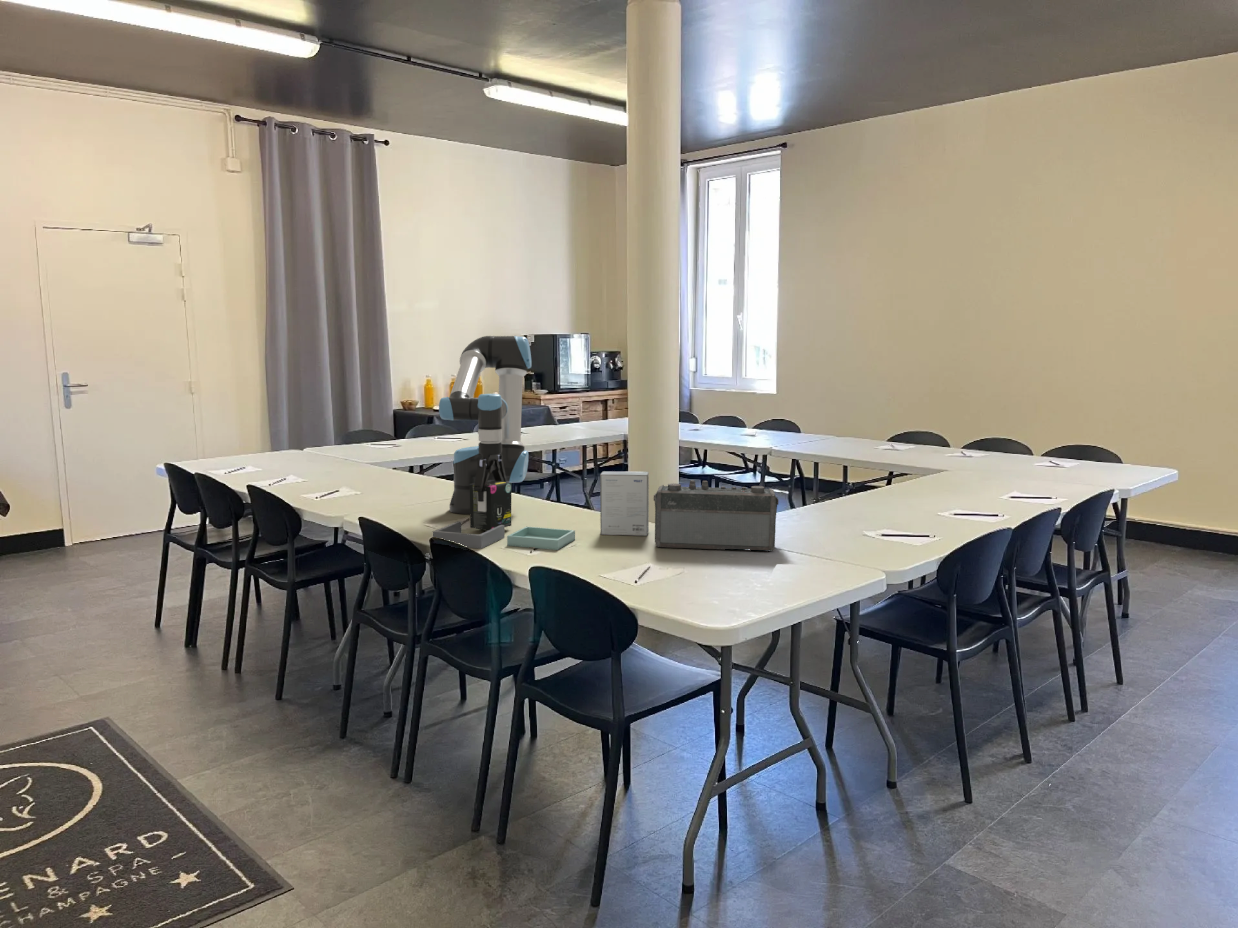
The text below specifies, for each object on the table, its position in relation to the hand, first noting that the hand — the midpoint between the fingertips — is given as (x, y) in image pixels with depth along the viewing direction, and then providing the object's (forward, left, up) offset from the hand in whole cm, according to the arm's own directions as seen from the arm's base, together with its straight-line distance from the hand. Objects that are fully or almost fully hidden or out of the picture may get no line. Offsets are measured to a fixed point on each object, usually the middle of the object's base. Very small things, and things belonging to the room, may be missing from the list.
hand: (490, 507), depth 291 cm
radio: (-5, +73, -8) cm, 74 cm away
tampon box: (0, 0, -7) cm, 7 cm away
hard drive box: (-12, +42, -8) cm, 45 cm away
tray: (+10, +22, -8) cm, 25 cm away
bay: (+15, 0, -8) cm, 17 cm away
